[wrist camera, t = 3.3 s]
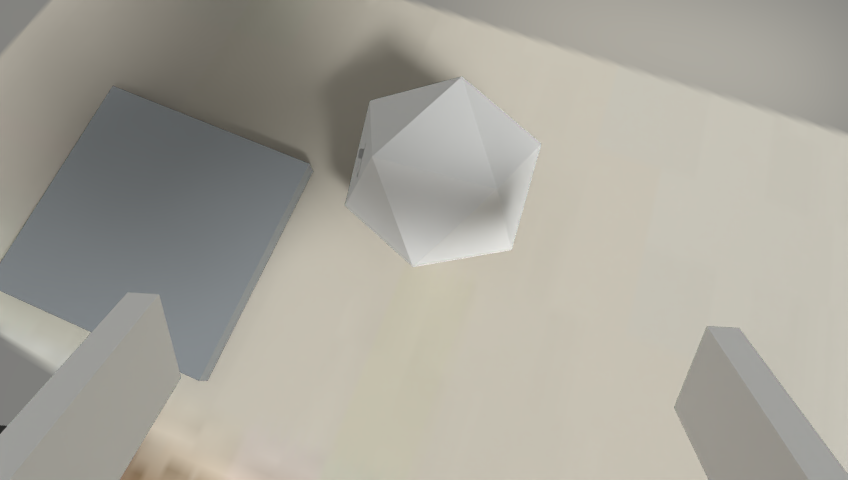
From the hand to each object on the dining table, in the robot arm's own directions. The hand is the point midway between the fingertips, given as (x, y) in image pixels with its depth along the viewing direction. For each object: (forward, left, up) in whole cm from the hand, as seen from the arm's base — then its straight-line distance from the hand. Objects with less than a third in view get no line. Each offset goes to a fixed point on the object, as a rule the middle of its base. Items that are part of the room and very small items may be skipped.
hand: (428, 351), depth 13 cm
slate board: (+16, -1, -13) cm, 21 cm away
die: (+3, -8, -14) cm, 16 cm away
